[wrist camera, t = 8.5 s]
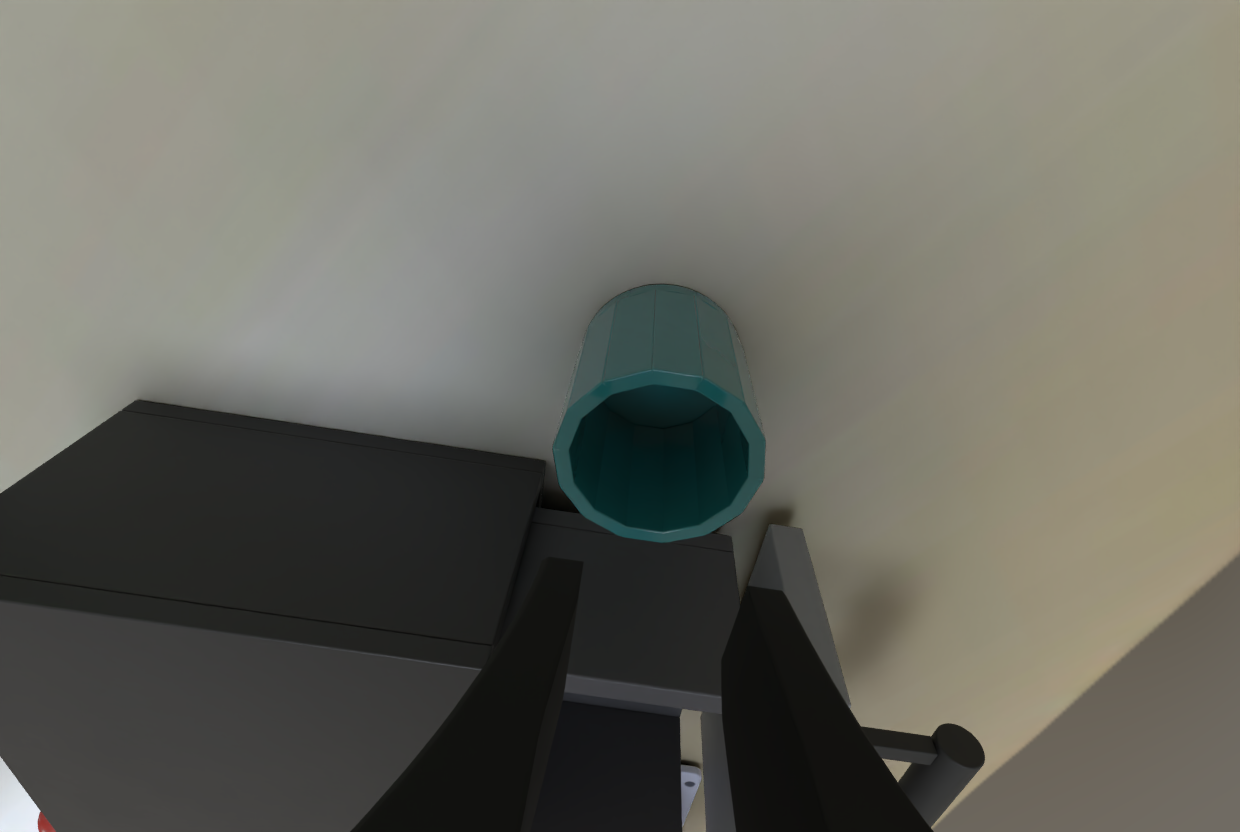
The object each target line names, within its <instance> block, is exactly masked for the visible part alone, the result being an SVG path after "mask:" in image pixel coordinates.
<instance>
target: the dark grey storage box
mask: <svg viewBox="0 0 1240 832" xmlns="http://www.w3.org/2000/svg"><path fill="white" fill-rule="evenodd" d="M544 472H545V461H540V460H534V459H527V458H520V457H513V456H507V455H500V454H493V453H487V452H480V451H473V450H467V449H460V448H453V447H446V446H440V445H433V444H426V443H420V442H413V441H406V440H399V439H393V438H386V437H379V436H373V435H366V434H359V433H352V432H346V431H339V430H332V429H326V428H319V427H312V426H306V425H299V424H292V423H285V422H279V421H272V420H265V419H259V418H252V417H245V416H238V415H232V414H225V413H218V412H212V411H205V410H198V409H191V408H185V407H178V406H171V405H165V404H158V403H151V402H145V401H138V400H136V401H134V402H132V403H131V404H130V405H128V406H127V407H125V408H124V409H122V411H119V412H118V413H117V414H115V415H114V416H112V417H111V418H109V419H108V420H106V421H105V422H103V423H102V424H101V425H99V426H98V427H96V428H95V429H93V430H92V431H90V432H89V433H87V434H86V435H85V436H83V437H82V438H80V439H79V440H77V441H76V442H74V443H73V444H72V445H70V446H69V447H67V448H66V449H64V450H63V451H61V452H60V453H58V454H57V455H56V456H54V457H53V458H51V459H50V460H48V461H47V462H45V463H44V464H43V465H41V466H40V467H38V468H37V469H35V470H34V471H32V472H31V473H29V474H28V475H27V476H25V477H24V478H22V479H21V480H19V481H18V482H16V483H15V484H13V485H12V486H11V487H9V488H8V489H6V490H5V491H3V492H2V493H0V756H1V758H2V759H3V761H4V762H5V763H6V765H7V766H8V767H9V769H10V770H11V771H12V773H13V774H14V775H15V777H16V778H17V780H18V781H19V782H20V784H21V785H22V786H23V788H24V789H25V790H26V792H27V793H28V794H29V796H30V797H31V799H32V800H33V801H34V803H35V804H36V805H37V807H38V808H39V809H40V811H41V812H42V813H43V815H44V816H45V817H46V819H47V820H48V822H49V823H50V824H51V826H52V827H53V828H54V830H55V831H56V832H350V831H351V830H352V829H353V828H354V827H355V826H356V825H357V824H358V823H359V821H360V820H361V819H362V818H363V817H364V816H365V815H366V814H367V813H368V812H369V811H370V809H371V808H372V807H373V806H374V805H375V804H376V803H377V801H378V800H379V799H380V798H381V797H382V796H383V795H384V793H385V792H386V791H387V790H388V789H389V788H390V787H391V785H392V784H393V783H394V782H395V781H396V780H397V779H398V777H399V776H400V775H401V774H402V773H403V772H404V771H405V769H406V768H407V767H408V766H409V765H410V763H411V762H412V761H413V760H414V759H415V757H416V756H417V755H418V754H419V752H420V751H421V750H422V749H423V748H424V746H425V745H426V744H427V743H428V741H429V740H430V739H431V738H432V736H433V735H434V734H435V733H436V731H437V730H438V729H439V727H440V726H441V725H442V724H443V722H444V721H445V720H446V718H447V717H448V716H449V714H450V713H451V712H452V710H453V709H454V708H455V706H456V705H457V704H458V702H459V701H460V699H461V698H462V696H463V695H464V694H465V692H466V691H467V689H468V688H469V687H470V685H471V684H472V682H473V681H474V680H475V678H476V677H477V675H478V674H479V673H480V671H481V670H482V668H483V667H484V665H485V664H486V662H487V661H488V659H489V658H490V656H491V655H492V653H493V652H494V650H495V648H496V647H497V645H498V641H499V637H500V634H501V630H502V626H503V623H504V619H505V616H506V612H507V608H508V605H509V601H510V598H511V594H512V590H513V587H514V583H515V579H516V576H517V572H518V569H519V565H520V561H521V558H522V554H523V550H524V547H525V543H526V540H527V536H528V532H529V529H530V525H531V522H532V518H533V514H534V511H535V507H537V508H541V505H542V494H543V483H544Z"/></svg>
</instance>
